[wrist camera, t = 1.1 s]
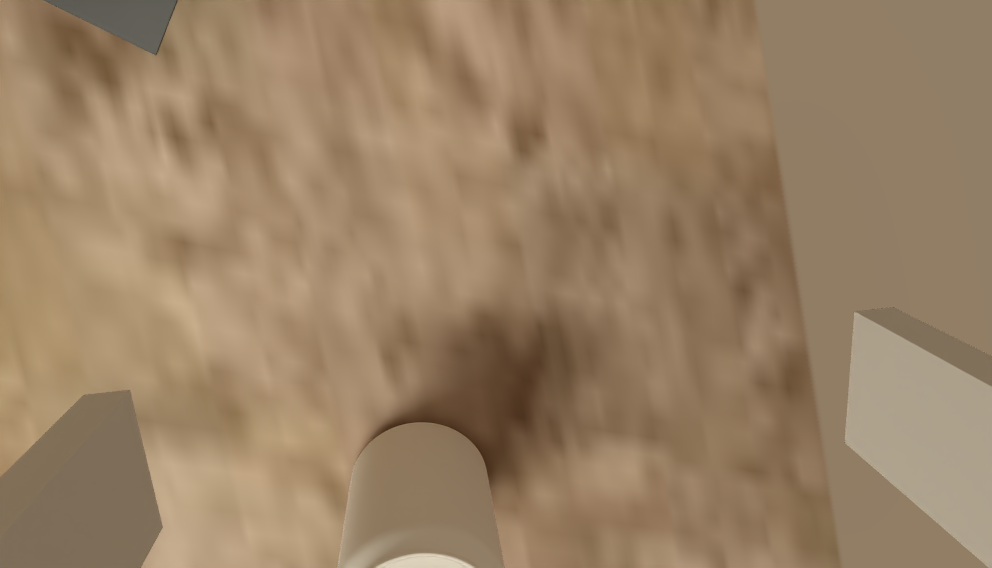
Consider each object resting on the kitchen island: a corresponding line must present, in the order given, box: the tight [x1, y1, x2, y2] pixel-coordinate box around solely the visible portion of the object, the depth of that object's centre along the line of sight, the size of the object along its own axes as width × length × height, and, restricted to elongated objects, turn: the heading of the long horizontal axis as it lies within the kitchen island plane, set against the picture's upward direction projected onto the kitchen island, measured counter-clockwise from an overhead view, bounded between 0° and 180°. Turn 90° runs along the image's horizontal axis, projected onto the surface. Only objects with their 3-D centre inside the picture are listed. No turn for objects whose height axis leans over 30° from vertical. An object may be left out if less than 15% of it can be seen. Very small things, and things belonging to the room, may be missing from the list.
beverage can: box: [338, 422, 505, 568], centre depth 38 cm, size 8×8×12 cm
